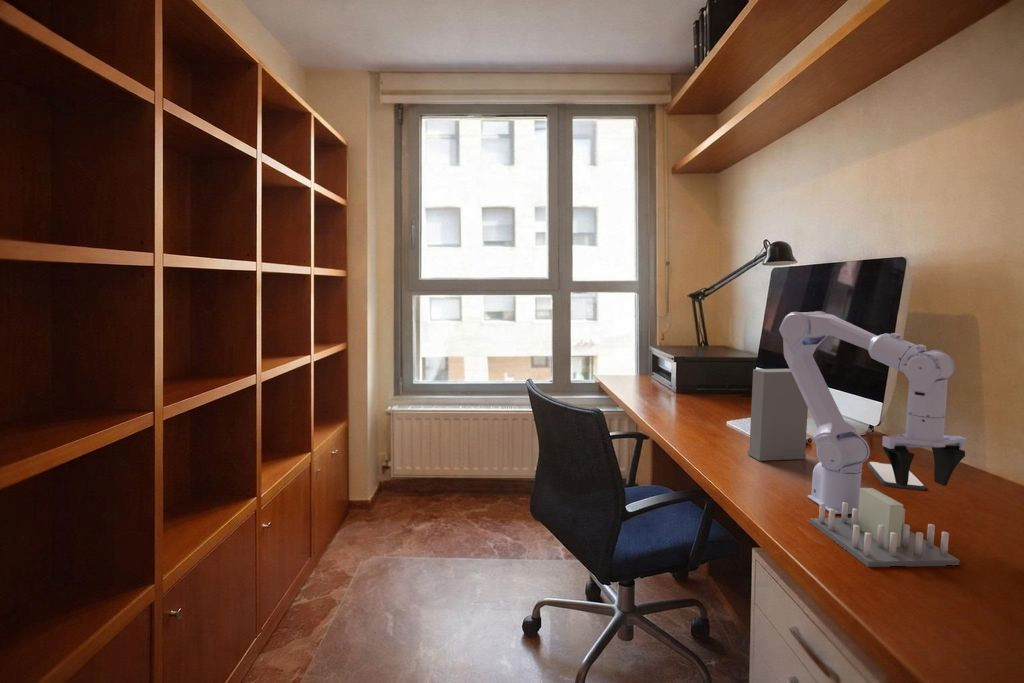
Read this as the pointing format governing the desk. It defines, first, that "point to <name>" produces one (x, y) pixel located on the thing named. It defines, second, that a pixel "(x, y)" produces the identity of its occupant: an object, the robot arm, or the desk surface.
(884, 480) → the phone case
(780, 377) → the tall grey upright box
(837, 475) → the robot arm
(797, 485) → the desk surface
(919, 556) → the dish rack
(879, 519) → the pale rectangular block
